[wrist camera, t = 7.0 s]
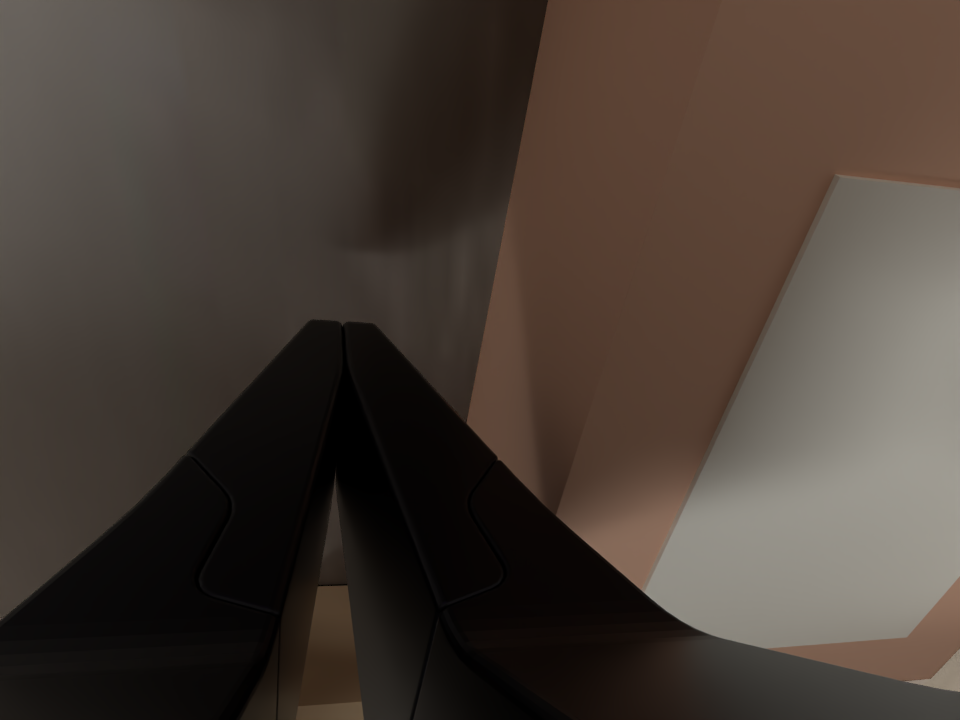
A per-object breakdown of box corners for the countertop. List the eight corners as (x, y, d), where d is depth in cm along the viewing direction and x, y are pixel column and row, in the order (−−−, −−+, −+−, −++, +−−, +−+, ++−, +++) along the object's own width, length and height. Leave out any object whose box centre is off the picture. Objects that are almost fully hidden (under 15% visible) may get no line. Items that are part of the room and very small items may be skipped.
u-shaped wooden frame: (292, 622, 15) (286, 741, 13) (346, -587, 6) (355, -849, 4) (800, 599, 18) (859, 692, 16) (1364, -196, 9) (1672, -216, 7)
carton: (448, 496, 14) (490, 726, 10) (559, -96, 8) (748, -68, 4) (791, 491, 15) (933, 682, 12) (1075, 7, 10) (1508, 86, 6)
